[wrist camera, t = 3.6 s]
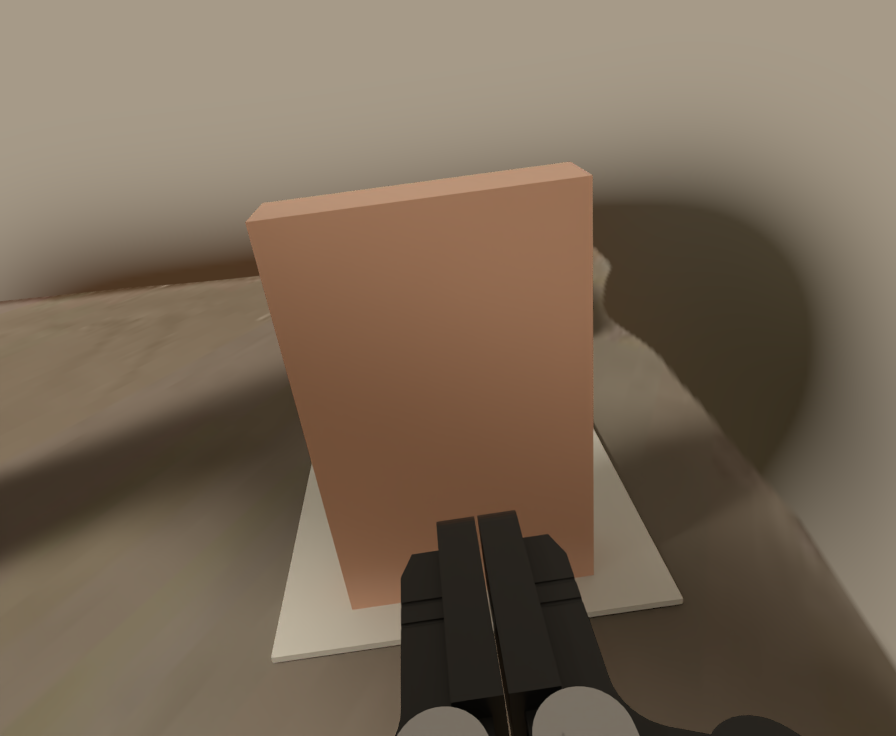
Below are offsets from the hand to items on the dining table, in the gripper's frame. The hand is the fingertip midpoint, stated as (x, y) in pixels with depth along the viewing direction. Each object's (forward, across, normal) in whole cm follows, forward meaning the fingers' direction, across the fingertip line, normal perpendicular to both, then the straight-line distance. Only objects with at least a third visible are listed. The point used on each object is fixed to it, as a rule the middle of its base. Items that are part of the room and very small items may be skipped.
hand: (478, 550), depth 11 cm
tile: (+10, 0, +11) cm, 15 cm away
